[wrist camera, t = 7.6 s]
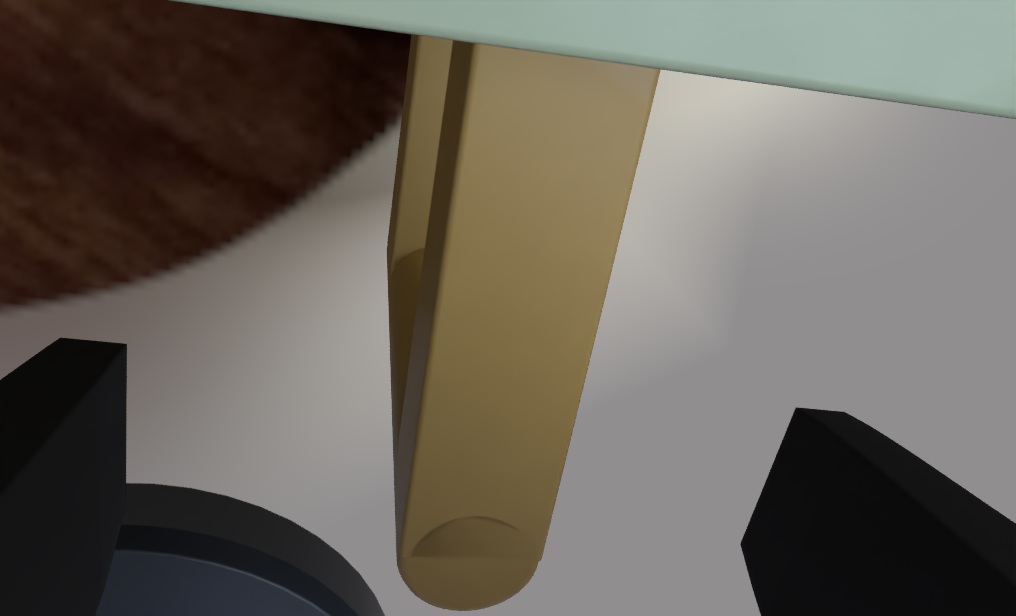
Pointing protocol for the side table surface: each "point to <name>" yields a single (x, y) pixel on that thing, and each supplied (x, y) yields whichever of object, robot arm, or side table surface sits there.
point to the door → (571, 216)
